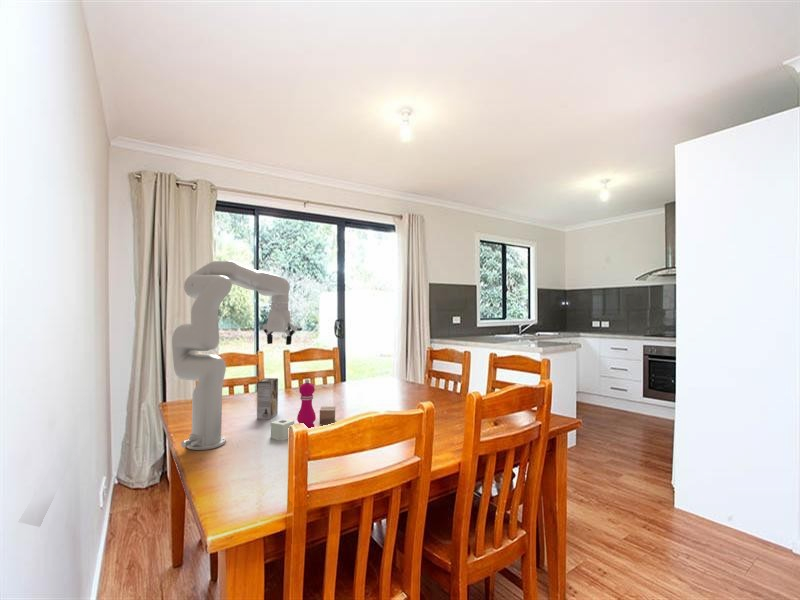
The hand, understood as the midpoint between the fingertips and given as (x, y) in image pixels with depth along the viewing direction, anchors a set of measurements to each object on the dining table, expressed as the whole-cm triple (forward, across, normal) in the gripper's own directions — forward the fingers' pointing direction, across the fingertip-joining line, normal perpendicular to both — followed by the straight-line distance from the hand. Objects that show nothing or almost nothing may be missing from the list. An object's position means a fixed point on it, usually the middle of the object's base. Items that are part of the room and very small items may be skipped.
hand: (279, 344), depth 184 cm
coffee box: (+31, -1, -8) cm, 32 cm away
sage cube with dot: (+31, +20, -30) cm, 48 cm away
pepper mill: (+31, +24, -19) cm, 44 cm away
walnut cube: (+31, +28, -8) cm, 43 cm away
